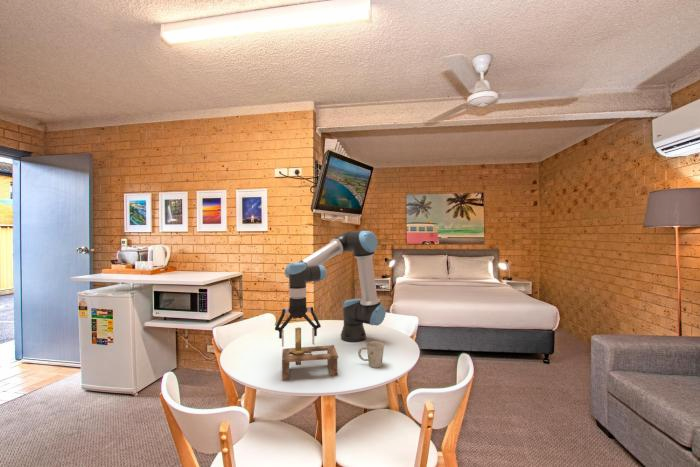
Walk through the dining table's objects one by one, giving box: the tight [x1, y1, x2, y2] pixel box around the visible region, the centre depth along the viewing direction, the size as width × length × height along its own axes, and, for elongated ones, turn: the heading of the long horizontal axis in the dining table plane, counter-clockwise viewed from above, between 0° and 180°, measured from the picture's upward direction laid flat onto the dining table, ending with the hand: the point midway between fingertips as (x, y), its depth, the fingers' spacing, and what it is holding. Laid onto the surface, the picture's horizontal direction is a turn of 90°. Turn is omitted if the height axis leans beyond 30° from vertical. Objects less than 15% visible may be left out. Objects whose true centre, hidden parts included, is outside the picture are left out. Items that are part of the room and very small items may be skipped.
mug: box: [357, 340, 385, 369], centre depth 154 cm, size 8×13×10 cm, turn 78°
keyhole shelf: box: [281, 344, 339, 381], centre depth 146 cm, size 24×14×9 cm, turn 101°
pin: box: [292, 326, 306, 366], centre depth 145 cm, size 6×6×16 cm
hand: (298, 344), depth 145 cm, fingers open, 13 cm apart
